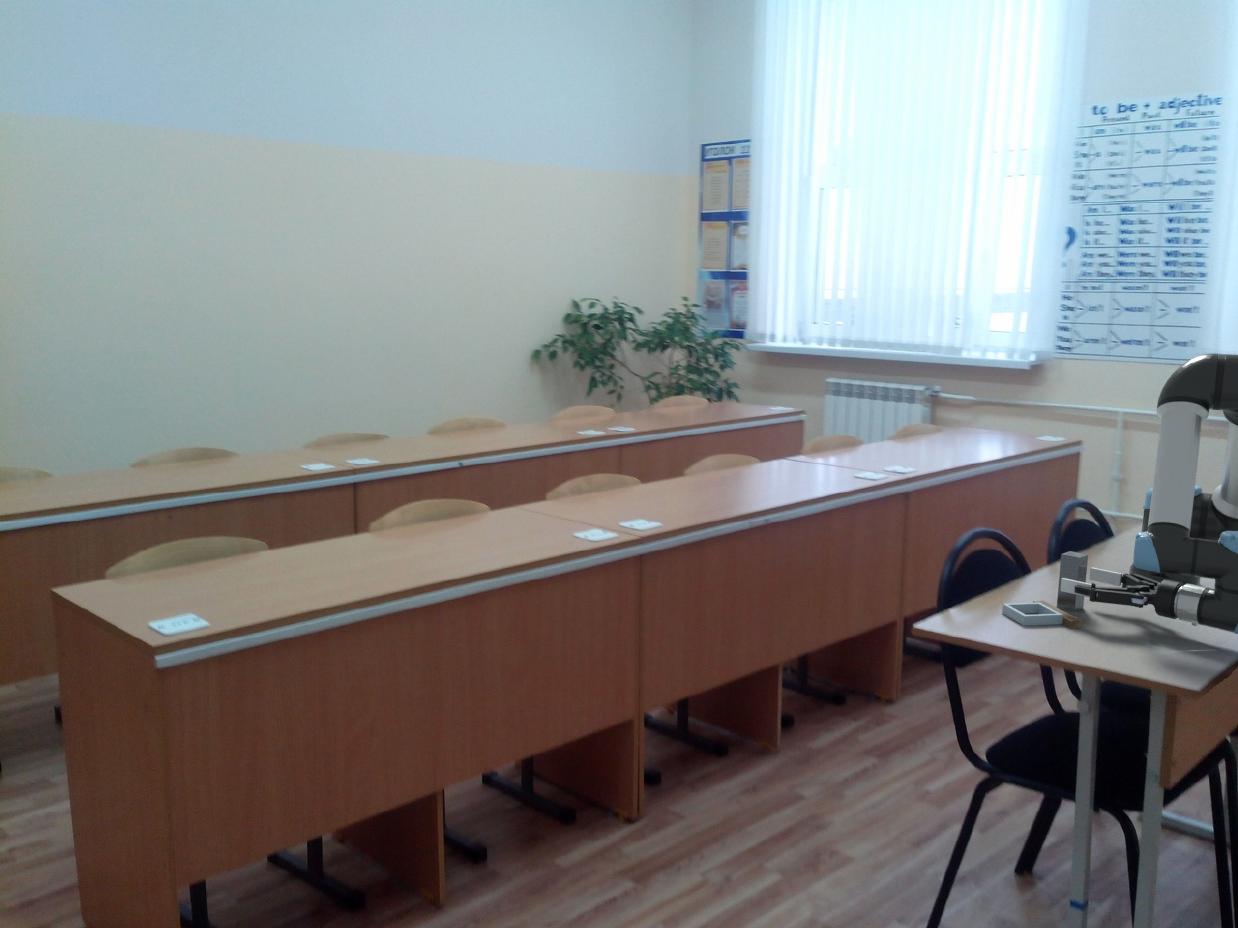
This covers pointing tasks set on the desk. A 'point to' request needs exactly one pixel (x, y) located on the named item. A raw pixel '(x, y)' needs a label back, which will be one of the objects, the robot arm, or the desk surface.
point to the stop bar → (1075, 570)
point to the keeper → (1043, 618)
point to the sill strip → (1064, 616)
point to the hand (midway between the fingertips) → (1076, 578)
